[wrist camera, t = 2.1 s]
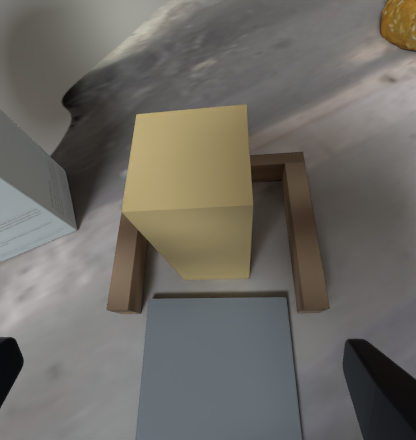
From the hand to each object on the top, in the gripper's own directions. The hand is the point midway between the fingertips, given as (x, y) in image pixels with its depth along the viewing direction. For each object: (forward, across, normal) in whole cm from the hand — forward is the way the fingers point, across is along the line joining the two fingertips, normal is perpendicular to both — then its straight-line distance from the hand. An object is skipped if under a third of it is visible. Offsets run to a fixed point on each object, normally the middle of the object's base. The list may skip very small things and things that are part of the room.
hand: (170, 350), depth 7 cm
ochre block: (+14, 0, +4) cm, 15 cm away
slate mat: (+8, 0, +10) cm, 13 cm away
